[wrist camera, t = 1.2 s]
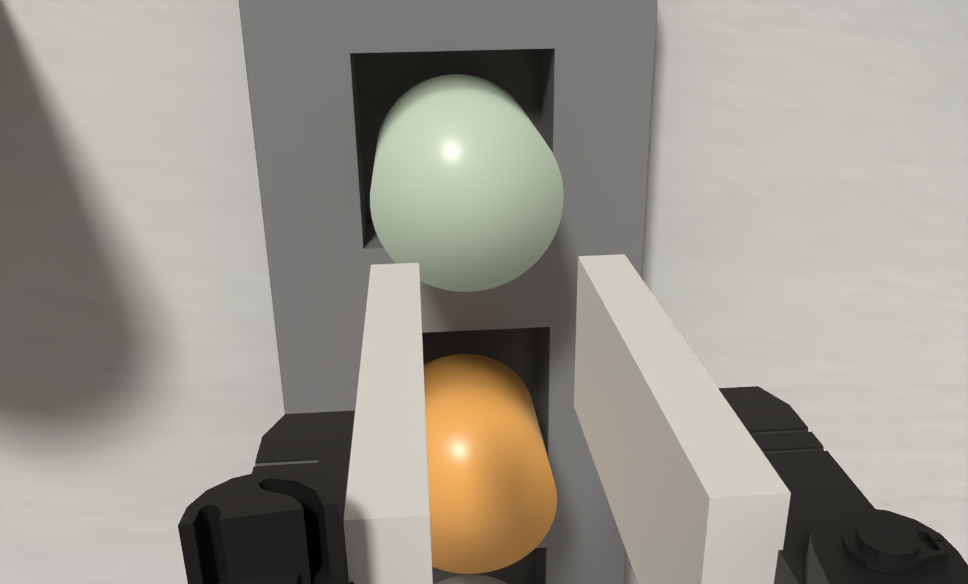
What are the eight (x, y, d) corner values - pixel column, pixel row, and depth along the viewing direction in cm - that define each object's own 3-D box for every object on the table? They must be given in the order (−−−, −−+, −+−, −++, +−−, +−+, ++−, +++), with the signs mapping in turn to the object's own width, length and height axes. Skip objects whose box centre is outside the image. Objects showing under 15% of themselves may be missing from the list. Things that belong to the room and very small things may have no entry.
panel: (328, 685, 38) (322, 744, 35) (250, -58, 27) (232, -57, 24) (600, 665, 39) (615, 721, 36) (635, -63, 28) (661, -63, 25)
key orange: (395, 481, 30) (393, 579, 26) (388, 357, 29) (384, 438, 24) (533, 473, 31) (555, 568, 26) (534, 350, 29) (558, 428, 24)
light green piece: (380, 234, 27) (376, 295, 22) (371, 75, 25) (363, 106, 21) (535, 229, 27) (561, 287, 23) (536, 72, 26) (565, 101, 21)
